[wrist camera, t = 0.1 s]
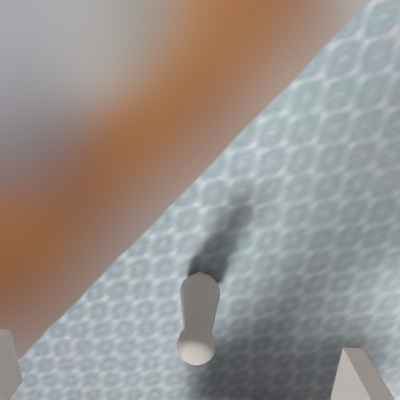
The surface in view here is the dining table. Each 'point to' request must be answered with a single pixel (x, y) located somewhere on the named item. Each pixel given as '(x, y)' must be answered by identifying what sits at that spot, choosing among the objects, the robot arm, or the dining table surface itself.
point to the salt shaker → (198, 318)
